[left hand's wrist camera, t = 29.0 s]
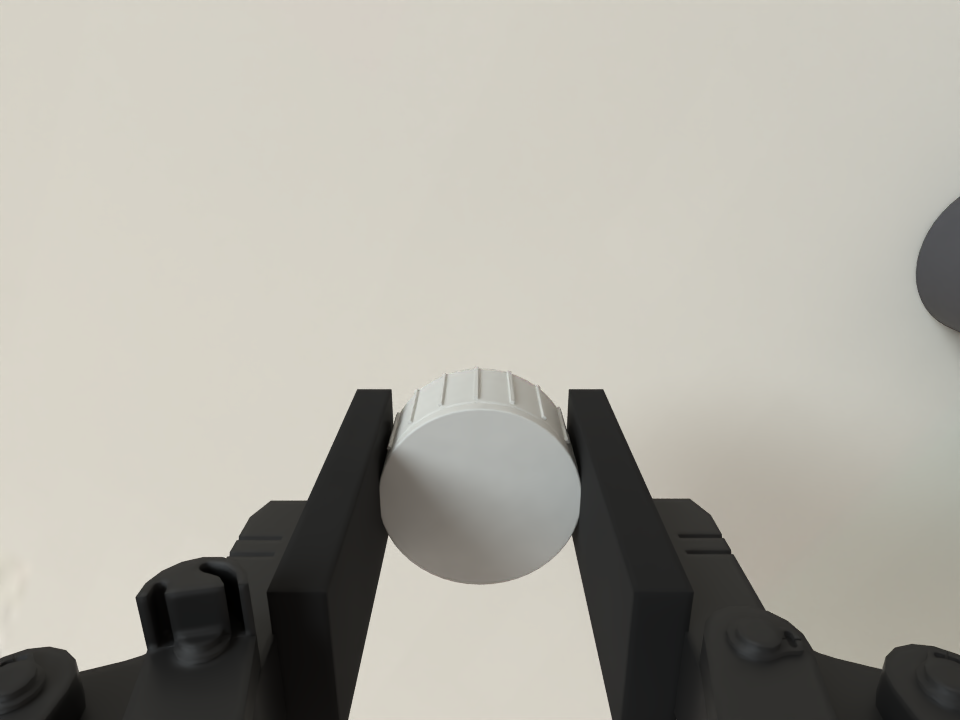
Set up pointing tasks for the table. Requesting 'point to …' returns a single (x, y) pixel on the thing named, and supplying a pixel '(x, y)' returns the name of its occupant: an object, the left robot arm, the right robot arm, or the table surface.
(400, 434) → the cap
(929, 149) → the table surface
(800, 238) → the table surface
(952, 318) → the bottle
